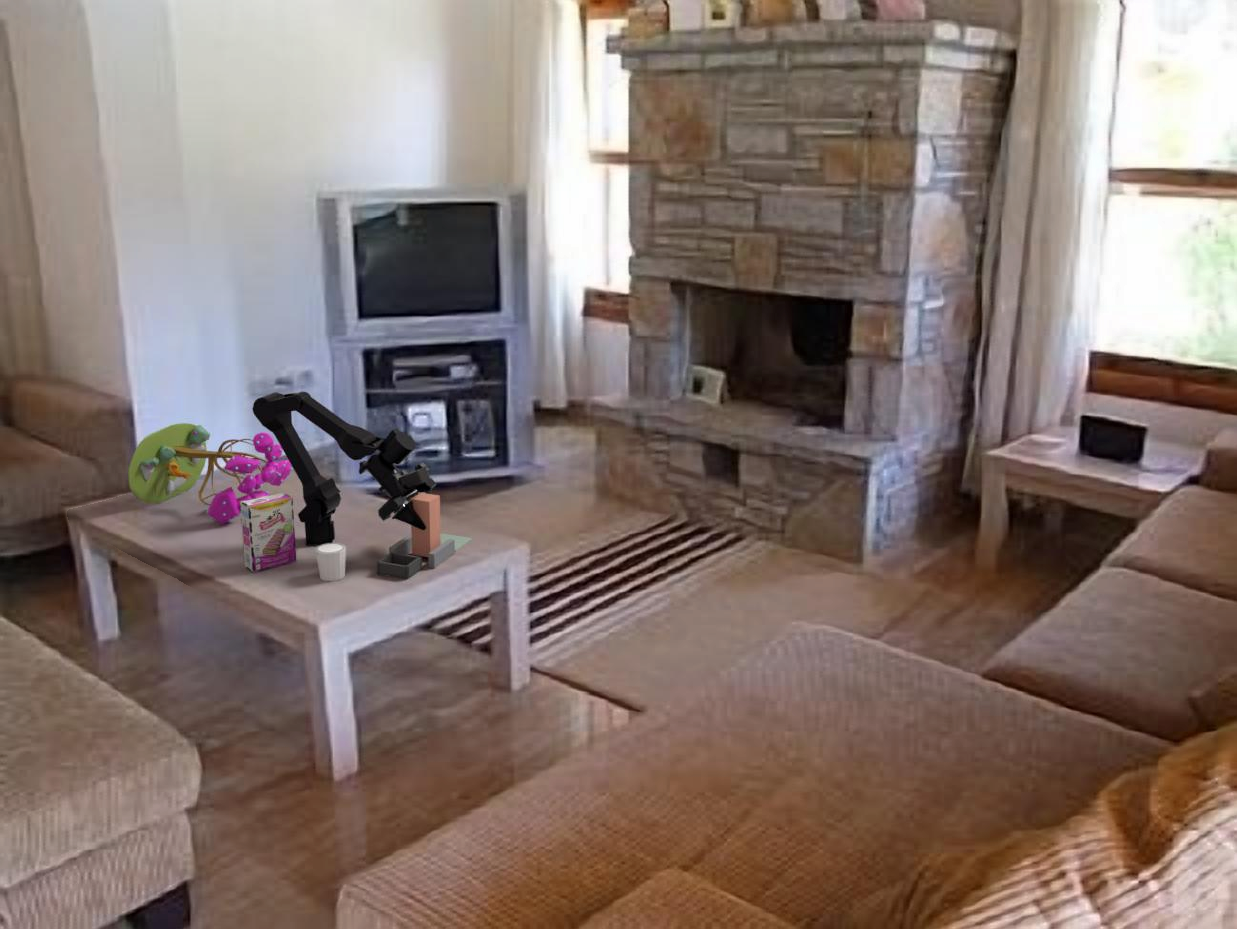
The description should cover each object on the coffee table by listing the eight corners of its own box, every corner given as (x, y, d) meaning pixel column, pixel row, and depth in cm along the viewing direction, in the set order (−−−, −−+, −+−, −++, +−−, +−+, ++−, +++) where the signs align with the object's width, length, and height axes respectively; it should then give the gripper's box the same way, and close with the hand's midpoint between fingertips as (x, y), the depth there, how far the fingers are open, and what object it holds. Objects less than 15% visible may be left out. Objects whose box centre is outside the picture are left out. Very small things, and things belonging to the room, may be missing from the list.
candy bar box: (254, 574, 267) (248, 506, 262) (244, 567, 271) (238, 501, 266) (298, 561, 275) (293, 496, 270) (288, 556, 278) (282, 491, 273)
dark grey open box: (377, 574, 268) (376, 562, 267) (392, 564, 273) (391, 552, 273) (407, 579, 265) (407, 566, 264) (422, 569, 271) (421, 557, 270)
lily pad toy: (197, 384, 317) (299, 417, 304) (215, 470, 333) (313, 504, 320) (113, 436, 294) (219, 474, 282) (136, 526, 310) (238, 565, 298)
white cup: (319, 570, 269) (317, 542, 267) (349, 570, 270) (347, 541, 268) (314, 582, 263) (312, 553, 261) (345, 581, 263) (343, 552, 261)
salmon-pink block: (412, 554, 277) (410, 498, 273) (422, 547, 281) (421, 492, 277) (430, 557, 275) (429, 501, 271) (440, 550, 280) (439, 495, 276)
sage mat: (419, 545, 285) (419, 545, 285) (437, 533, 293) (437, 533, 293) (455, 551, 282) (455, 550, 282) (472, 538, 290) (472, 538, 290)
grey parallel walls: (389, 561, 275) (389, 547, 274) (411, 547, 284) (410, 533, 283) (434, 568, 271) (434, 554, 270) (454, 553, 280) (454, 540, 279)
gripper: (387, 466, 264) (431, 518, 264) (427, 445, 281) (469, 494, 281) (359, 495, 269) (402, 546, 269) (400, 472, 286) (442, 520, 286)
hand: (430, 525), depth 276 cm, fingers closed on salmon-pink block, 5 cm apart
